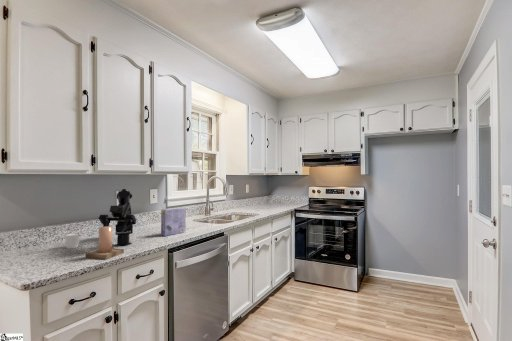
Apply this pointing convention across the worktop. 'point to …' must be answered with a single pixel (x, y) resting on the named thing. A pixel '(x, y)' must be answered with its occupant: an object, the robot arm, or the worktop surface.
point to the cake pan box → (173, 221)
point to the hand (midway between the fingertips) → (112, 232)
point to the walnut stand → (104, 254)
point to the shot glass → (72, 240)
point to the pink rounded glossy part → (105, 239)
